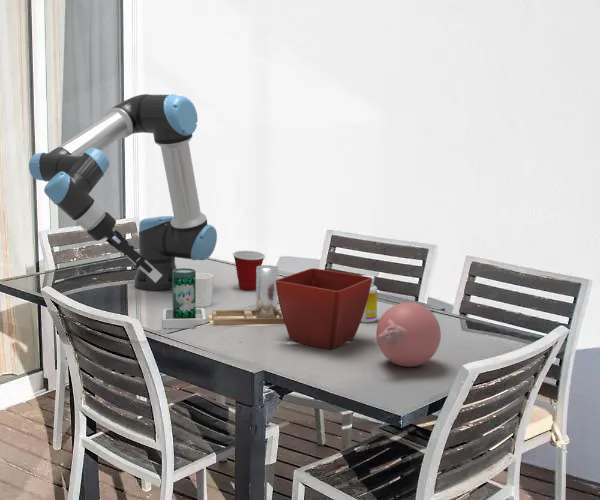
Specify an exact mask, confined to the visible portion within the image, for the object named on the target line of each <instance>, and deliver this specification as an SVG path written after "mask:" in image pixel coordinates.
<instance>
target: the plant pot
mask: <svg viewBox="0 0 600 500" xmlns="http://www.w3.org/2000/svg"><path fill="white" fill-rule="evenodd" d="M371 282H372V278H371V277H366V276H362V275H360V274H353V273H347V272H341V271H340V272H339V271H334V270H327V269H320V268H308V269H305V270H301V271H299V272H295V273H293V274H290V275H287V276H283V277H282V278H278V279H277V280H276V289H277V301H278V304H279V307H280V308H279V309H281V312H282V316H283V319H284V322H285V325H284V326H285V328H286V331H287V334H288V336H289V338H290V339H291V340H290V341H291V342H294V343H298V344H303V345H307V346H312V347H317V348H321V349H325V350H333V349H336V348H338V347H340V346H342V345H344V344H346V343H347V342H350V341H351V340H353V339H354V338H355V337H356V334H357V332H358V329H359V327H360V324H361V323H362V322H361V319H362V316H363V313H364V310H365V307H366V303H367V300H368V296H369V291H370V287H371Z"/></svg>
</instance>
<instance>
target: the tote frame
mask: <svg viewBox="0 0 600 500" xmlns="http://www.w3.org/2000/svg"><path fill="white" fill-rule="evenodd" d="M162 309H163V311H162V329H164V328H166V329H167V330H168V329H169V328H172V329H196V328H197V325H206V323H207V322H206V321H207V319H206V312H205V308H204V307H196V315H197V314H200V315H201V318H195V319H173V308H162ZM166 329H164V330H166Z"/></svg>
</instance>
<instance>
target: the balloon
mask: <svg viewBox="0 0 600 500" xmlns="http://www.w3.org/2000/svg"><path fill="white" fill-rule="evenodd" d="M433 313H434V312H432V311H431V310H429V309H428V307H426V306H424V305H422V304H419V303H416V302H401V303H397V304H395V305H393V306H391V307H390V308H388V309H387V310H386V311H385V312H384V313H383V314H382V316H380V319H379V321H378V324H377V325H376V335H375V336H376V342H377V345H378V348H379V350H380V351H381V353H382V354H383V356H384V357H385V358H386V359H387V360H388V361H390V362H392V363H393V364H395V365H397V366H400V367H407V368H409V367H417V366H421V365H423V364H425V363H426V362H428V361H429V360H431V358H432V357H434V355H435V354H436V353H437V351H438V349H439V347H440V343H441V338H442V337H441V327H440V323H439V321H438V319H437V318H436V316H435V314H433Z"/></svg>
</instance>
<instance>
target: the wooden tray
mask: <svg viewBox="0 0 600 500" xmlns="http://www.w3.org/2000/svg"><path fill="white" fill-rule="evenodd" d="M208 319H209V325H210V328H219V327H220V328H221V327H222V328H227V327H228V328H230V327H268V326H269V327H271V326H272V327H273V326H276V327H277V326H281V327H282V326H283V327H284V326H286V325H285V322H284V319H283V316H282V312H281V308H279V309H278V308H277V318H256V309H231V310H230V309H226V310H225V309H224V310H223V309H222V310H220V309H219V310H215V309H214V310H211V313H210V314H208Z"/></svg>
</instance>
